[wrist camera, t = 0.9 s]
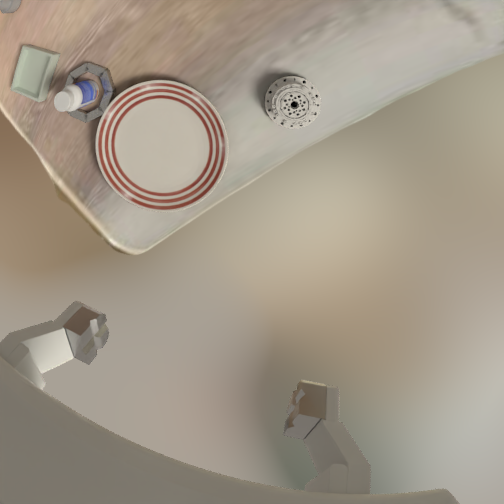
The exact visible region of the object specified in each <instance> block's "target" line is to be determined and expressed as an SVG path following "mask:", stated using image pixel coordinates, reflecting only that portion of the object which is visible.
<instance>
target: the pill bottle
mask: <svg viewBox="0 0 504 504" xmlns="http://www.w3.org/2000/svg"><path fill="white" fill-rule="evenodd" d="M98 94H99V88H98V85H97V83H96V82H95V81H93V80H85V81H82V82H78V83H75V84H71V85H68V86H66V87H65V88H64V89H63V90H62V91H61V92H59V93H58V94H57V95H56V96H55V99H54V105H55V108H56V109H57V110H58V111H60V112H64V111H69V112H71V111H74V110H77V109H79V108H81V107H84V106H86V105H88V104H91V103H93V102H94V101H95V100H96V99H97V97H98Z"/></svg>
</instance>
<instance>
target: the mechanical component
mask: <svg viewBox="0 0 504 504" xmlns="http://www.w3.org/2000/svg"><path fill="white" fill-rule="evenodd" d="M294 78H295V80H294ZM284 79H286V81H283V80H284ZM303 81H305V83H303ZM275 84H277V86H275ZM311 87H312V88H311ZM269 91H272V92H271V93H269ZM291 95H292V96H291ZM299 95H300V97H298V96H299ZM315 95H317V97H315ZM294 97H296V98H294ZM289 98H290V99H289ZM284 99H286V101H284ZM288 99H289V100H288ZM292 99H293V100H292ZM267 100H269V101H267ZM299 100H300V101H299ZM293 101H296V102H297V104H298V106H297V107H296V105H297V104H296V105H294V107H295V108H293V107H292V106H291V103H292V102H293ZM286 104H287V105H286ZM317 104H318V105H317ZM301 105H302V106H301ZM288 106H289V107H288ZM280 107H281V108H280ZM285 107H286V108H285ZM265 108H266V111H267V113H268V115H269V116H270V118H271V119H272V120H273V121H274V122H275V123H276V124H278V125H280V126H282V127H284V128H288V129H299V128H303V127H305V126H308V125H309V124H311V123H312V122H313V121H314V120H315V119H316V117H317V116H318V114H319V112H320V109H321V98H320V94H319V92H318V91H317V89H316V87H315V86H314V85H313V84H312V83H311V82H309V81H308V80H306V79H304V78H301V77H297V76H286V77H283V78H280V79H278V80H276V81H275V82H274V83H273V84H272V85H271V86H270V87H269V88H268V90H267V92H266V96H265ZM304 108H305V109H304ZM268 109H271V110H270V111H269V110H268ZM288 109H289V110H288ZM315 112H316V114H315ZM298 113H299V114H298ZM274 117H275V118H274ZM281 122H283V124H281ZM291 125H292V126H291Z"/></svg>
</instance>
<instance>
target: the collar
mask: <svg viewBox="0 0 504 504" xmlns="http://www.w3.org/2000/svg"><path fill="white" fill-rule="evenodd" d="M87 72H90V73H92V74H95V75H97V76H100V79H101V82H102V85H103V88H104V91H105V93H104V95H103V98H102V100H101V103H100V106H99V108H97V109H95V110H93V111H91V112H89V113H88V112H86V111H84V110H81V109H77V110H74V111H71V112H69V111H68V114H70V116H72V117H74V118H76V119H79V120H81V121H83V122H85V123H86V122H89V121H91V120H93V119H95V118H97V117H99V116H101V115H103V113H104V111H105V110H106V108H107V107H108V105H109V104H110V103H111V102H112V99H113V97H114V94H115V91H114V90H116V89H115V86H114V83H113V80H112V77H111V74H110V71H109V70H108V68H105V67H103V66H100V65H97V64H95V63H92V62H89V63H85V64H84V65H82V66H80V67H79V68H77V69H75V70H74V71H72V72H71V73H70V74H69V75H68V78H67V81H66V84H65V87H66V86H68V85H71V84H75V83H76V80H77V78H78V77H80V76H82V75H83V74H85V73H87ZM65 87H64V88H65Z"/></svg>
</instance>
